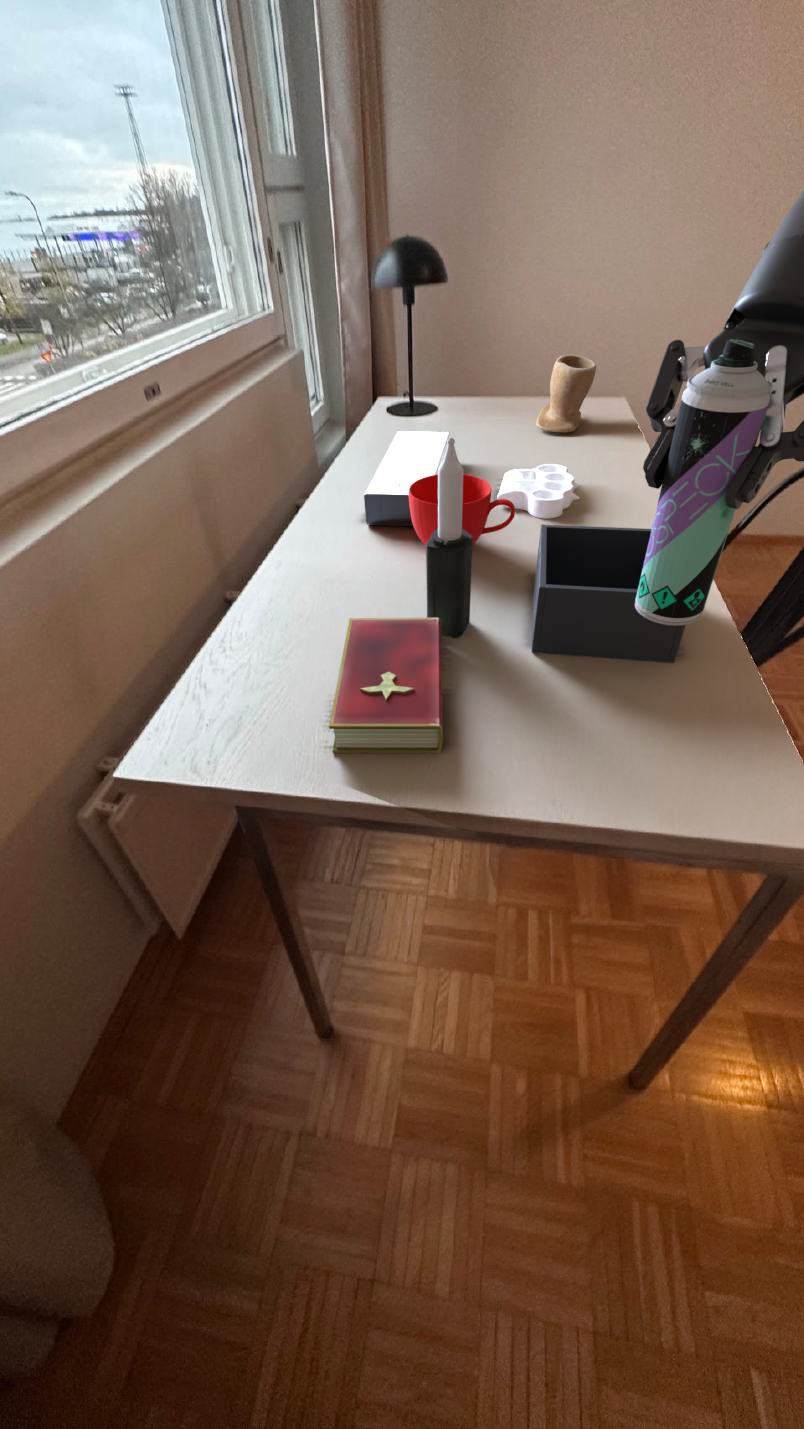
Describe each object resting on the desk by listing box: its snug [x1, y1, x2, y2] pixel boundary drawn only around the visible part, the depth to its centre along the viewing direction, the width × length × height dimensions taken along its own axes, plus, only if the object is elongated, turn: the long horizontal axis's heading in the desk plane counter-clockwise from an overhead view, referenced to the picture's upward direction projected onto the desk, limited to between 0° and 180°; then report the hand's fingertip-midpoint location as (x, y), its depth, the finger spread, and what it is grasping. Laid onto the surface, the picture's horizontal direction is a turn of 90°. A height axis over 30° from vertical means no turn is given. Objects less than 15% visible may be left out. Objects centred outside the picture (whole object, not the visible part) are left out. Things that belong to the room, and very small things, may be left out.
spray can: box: [635, 339, 773, 626], centre depth 47 cm, size 6×6×20 cm
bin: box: [531, 524, 686, 664], centre depth 84 cm, size 18×18×10 cm
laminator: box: [363, 430, 451, 527], centre depth 122 cm, size 34×12×6 cm, turn 171°
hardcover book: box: [328, 617, 444, 754], centre depth 75 cm, size 12×21×4 cm, turn 178°
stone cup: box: [535, 353, 597, 433], centre depth 146 cm, size 15×12×15 cm
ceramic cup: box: [409, 473, 516, 547], centre depth 101 cm, size 13×17×10 cm
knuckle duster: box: [496, 463, 581, 520], centre depth 118 cm, size 3×18×15 cm
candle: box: [425, 437, 474, 639], centre depth 79 cm, size 5×5×25 cm
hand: (689, 491), depth 46 cm, fingers closed on spray can, 5 cm apart
